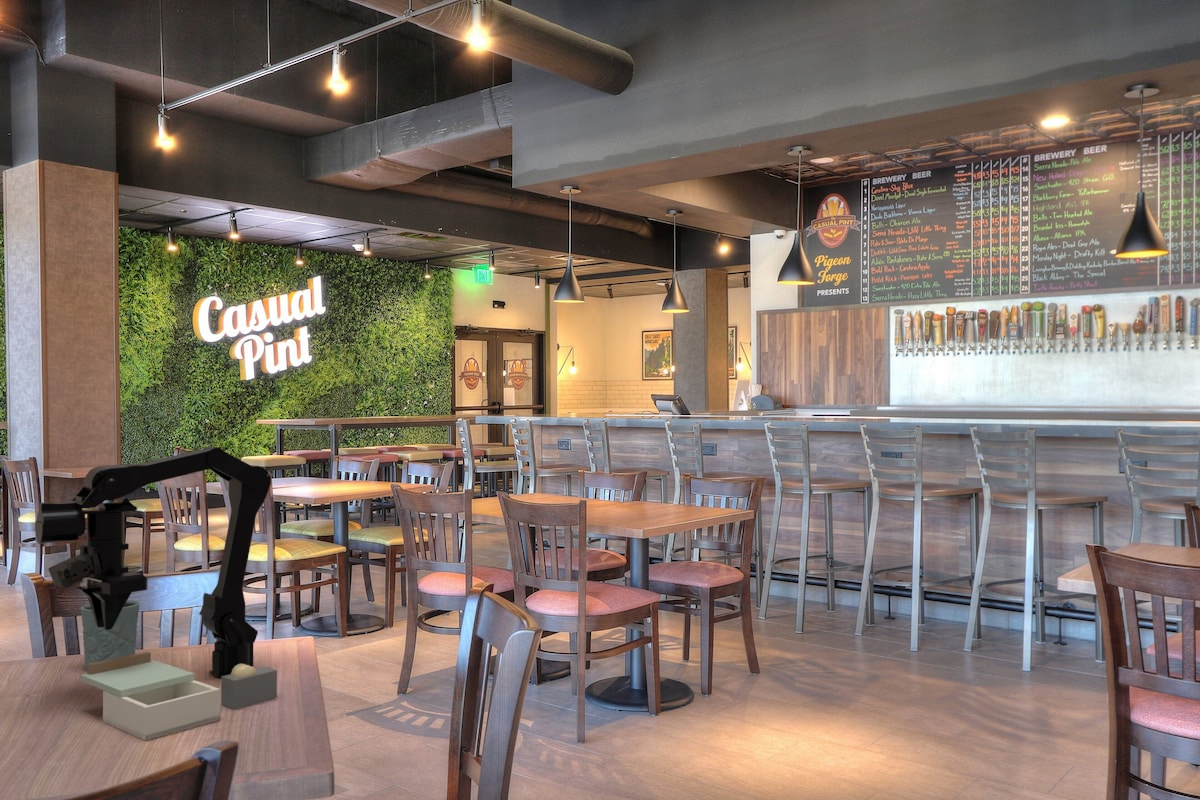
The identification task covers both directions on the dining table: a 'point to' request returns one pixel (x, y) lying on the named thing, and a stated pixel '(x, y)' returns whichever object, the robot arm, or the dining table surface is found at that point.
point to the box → (163, 709)
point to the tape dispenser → (248, 686)
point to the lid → (133, 674)
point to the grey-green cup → (110, 634)
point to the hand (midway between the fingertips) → (104, 628)
